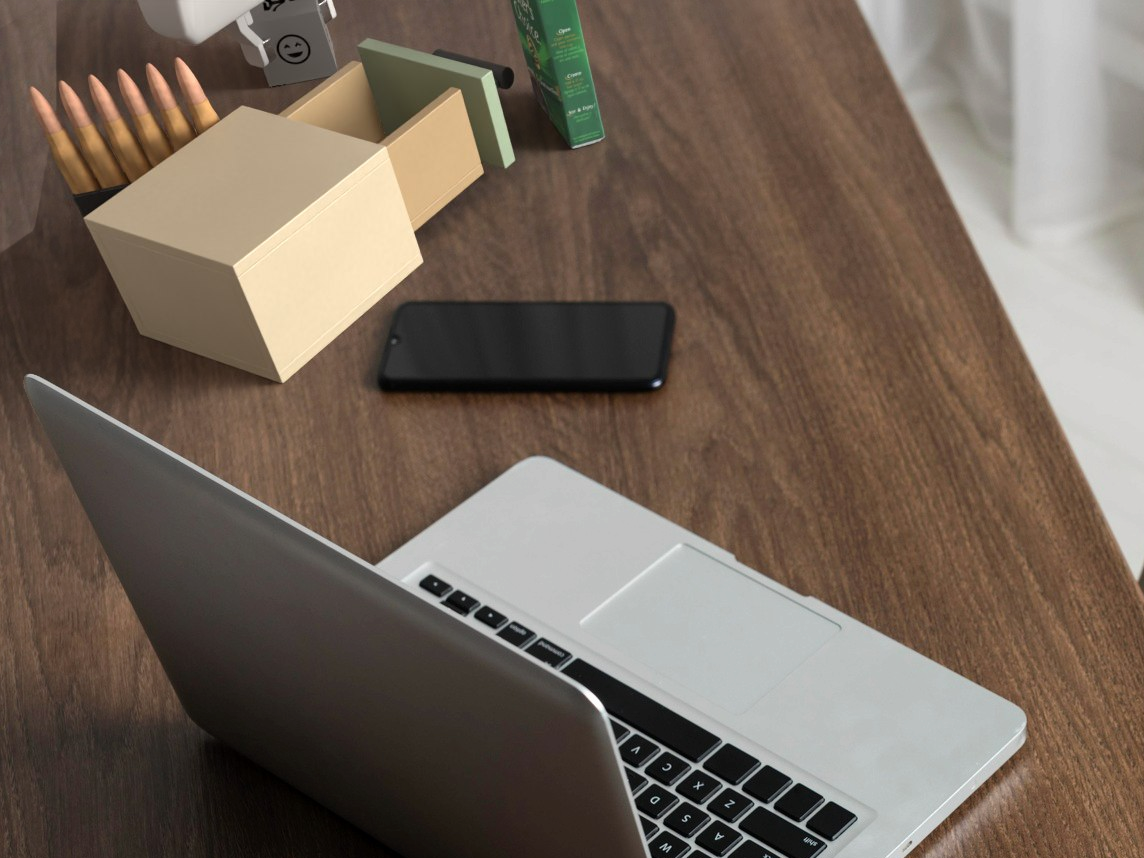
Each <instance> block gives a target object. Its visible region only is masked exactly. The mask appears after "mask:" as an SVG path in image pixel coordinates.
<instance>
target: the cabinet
mask: <svg viewBox="0 0 1144 858" xmlns="http://www.w3.org/2000/svg"><path fill="white" fill-rule="evenodd" d="M220 120H221V121H219V122H218V123H216V124H215V125H214V126H212V127H211V128H209V129H208V130H207V131H205V132H204V133H202V134H201V135H199V136H198V135H197V136H198V137H197V138H195V139H194V140H192V141H191V142H190V143H188V144H187V145H185V146H184V147H183V148H181V149H180V150H178V151H177V152H176V151H175V153H174V154H173V155H171V156H170V157H169V158H167V159H166V160H164V161H163V162H161V163H160V164H159V165H157V166H156V167H154V168H153V169H152V170H150V171H149V172H147V173H146V174H145V175H143V176H142V177H140V178H139V179H138V180H136V181H135V182H133V183H132V184H130V185H129V186H128V187H126V188H125V189H123V190H122V191H121V192H119V193H118V194H116V195H115V196H114V197H112V198H111V199H109V200H108V201H107V202H105V203H104V204H102V205H101V206H100V207H98V208H97V209H95V210H94V211H92V212H91V213H90V214H88V215H87V216H85V217H84V218H83V217H82V220H83V221H84V223H85V226H86V227H88V228H87V229H90V230H88V232H89V231H90V232H89V234H90V233H91V234H90V236H91V235H92V236H91V237H93V238H92V240H93V239H94V240H93V242H94V241H95V242H94V244H95V243H96V244H95V246H96V245H97V246H96V248H97V247H98V248H97V250H98V249H99V250H98V252H99V251H100V252H99V254H100V253H101V254H100V256H101V255H102V256H101V258H102V257H103V258H102V260H103V259H104V260H103V262H104V261H105V263H106V264H105V263H104V264H105V265H106V267H107V269H108V272H109V273H110V275H111V277H112V279H113V281H114V283H115V286H116V287H117V290H118V292H119V294H120V296H121V299H122V300H123V302H124V304H125V306H126V308H127V310H128V312H129V314H130V316H131V318H132V320H133V322H134V324H135V327H136V329H137V331H138V333H139V335H141V336H143V337H145V338H146V337H147V338H150V339H152V340H155V341H158V342H161V343H163V344H166V345H170V346H173V347H176V348H179V349H180V350H184V351H187V352H190V353H193V354H196V355H199V356H201V357H204V358H207V359H210V360H213V361H216V362H218V363H222V364H223V365H228V366H231V367H234V368H236V369H239V370H242V371H245V372H248V373H250V374H253V375H256V376H259V377H262V378H265V379H268V380H271V381H274V382H277V383H280V384H284V383H285V382H287V381H288V380H289V379H290V378H292V377H293V376H294V374H296V373H297V372H298V371H299V370H301V369H302V368H303V367H304V366H305V365H306V364H308V363H309V362H310V361H311V360H312V359H313V358H315V357H316V356H317V355H318V354H319V353H320V352H321V351H323V350H324V349H325V348H326V347H327V346H328V345H330V344H331V343H332V342H333V341H334V340H335V339H337V338H338V337H339V336H341V334H342V333H343V332H344V331H345V330H347V329H348V328H349V327H351V325H352V324H354V323H355V322H356V321H357V320H359V318H361V317H362V316H363V315H364V314H365V313H366V312H367V311H369V310H370V309H372V307H373V306H375V305H376V304H377V303H379V301H380V300H382V299H383V298H384V297H385V296H386V295H387V294H389V292H391V291H392V290H393V289H394V288H395V287H396V286H398V285H399V284H400V283H402V281H403V280H405V278H407V277H409V275H410V274H412V273H413V272H414V271H415V270H416V269H418V267H420V266H421V265H422V264H423V263H424V259H423V257H422V253H421V250H420V247H419V244H418V241H417V238H416V235H415V232H414V231H413V228H412V225H411V222H410V219H409V216H408V213H407V210H406V207H405V204H404V200H403V197H402V194H401V191H400V188H399V185H398V182H397V179H396V176H395V173H394V170H393V167H392V164H391V161H390V158H389V155H388V152H387V149H386V147H385V146H383V145H379V144H376V143H372V142H369V141H365V140H362V139H358V138H355V137H351V136H348V135H344V134H341V133H337V132H334V131H330V130H327V129H323V128H320V127H316V126H313V125H309V124H306V123H302V122H299V121H295V120H292V119H288V118H285V117H281V116H278V114H274V113H270V112H268V111H263V110H261V109H256V108H253V107H250V106H246V105H243V104H242V105H239V107H237V108H236V109H234V110H233V111H232V112H230V113H229V114H228V115H226V116H225V117H223V118H222V119H220Z"/></svg>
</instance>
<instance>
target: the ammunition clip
mask: <svg viewBox="0 0 1144 858" xmlns="http://www.w3.org/2000/svg"><path fill="white" fill-rule="evenodd" d="M174 69H175V74H176V79H177V82H178V84H179V87H180V90H181V94H182V95H183V98H184V100H185V102H186V105H187V108H188V110H189V113H190V115H191V119H192V121H190V119H189V117H187V115H186V114H185V112H184V110H183V109H182V107H181V105H180V103H179V102H178V100H177V98H176V96H175V94H174V92H173V90H172V88H171V87H170V85H169V84H168V82H167V81H166V79H165V78H164V76H163V75H162V74H161V73H160V71H159V70H158V69H157V68H156V67H155V66H154V65H153V64H152V63H150V62H147V63H146V64H145V72H146V77H147V82H148V85H149V89H150V91H151V95H152V97H153V99H154V102H155V104H156V107H157V108H158V112H159V114H160V116H161V118H162V121H163V124H164V125H163V126H164V128H163V126H162V125H161V124H160V122H159V121H158V120H157V118H156V116H155V114H154V112H153V111H152V108H151V107H150V106H149V105H148V102H147V99H146V98H145V96H144V95H143V93H142V91H141V90H140V88H139V86H137V84H136V83H135V82H134V80H133V79H132V77H131V76H129V74H128V73H127V72H126V71H124V70H123V69H122V68H118V69H117V71H116V75H117V76H116V77H117V82H118V87H119V90H120V94H121V97H122V99H123V102H124V103H125V106H126V108H127V110H128V112H129V115H130V118H131V120H132V122H133V125H134V128H135V131H136V133H135V131H134V130H133V129H132V127H130V126H129V124H128V122H127V120H126V119H125V117H124V115H123V113H121V110H120V108H119V107H118V105H117V103H116V100H114V98H113V96H112V95H111V93H110V92H109V91H108V89H107V88H106V87H105V86H104V84H103V83H102V82H101V81H100V80H99V78H97V77H96V76H94V75H93V74H88V76H87V77H88V86H89V87H88V88H89V91H90V95H91V98H92V101H93V104H94V106H95V108H96V111H97V113H98V115H99V116H100V119H101V122H102V125H103V127H104V129H105V131H106V133H107V138H108V140H109V142H108V140H107V139H106V137H105V136H104V135H103V133H102V132H101V131H100V130H99V127H98V126H97V125H96V123H95V121H94V120H93V118H92V116H91V115H90V113H89V111H88V109H87V108H86V106H85V104H84V103H83V101H82V100H81V98H80V97H79V96H78V95H77V93H76V92H75V91H74V90H73V89H72V87H71V86H70V85H68V83H66V82H65V81H64V80H60V79H59V81H58V89H59V94H60V95H59V96H60V100H61V103H62V105H63V108H64V110H65V113H66V115H67V117H68V119H69V122H70V123H71V125H72V128H73V130H74V133H75V136H76V137H77V139H78V143H79V146H78V144H77V143H76V142H75V140H74V139H73V137H71V134H69V132H68V130H67V128H66V127H65V125H64V124H63V123H62V121H61V119H60V118H59V116H58V113H56V111H55V109H54V107H52V105H51V104H50V102H49V101H48V100H47V99H46V98H45V96H44V95H43V94H42V93H41V92H40V91H39V90H37V89H36V88H35V87H34V86H31V85H30V86H29V87H28V94H29V95H28V96H29V100H30V104H31V107H32V110H33V113H34V115H35V118H36V120H37V122H38V124H39V126H40V128H41V130H42V132H43V135H44V137H45V139H46V141H47V143H48V146H49V149H50V152H51V155H52V157H53V160H54V161H55V163H56V165H57V167H58V169H59V170H60V172H61V174H62V176H63V178H64V180H65V181H66V183H67V185H68V187H69V189H70V191H71V193H72V199H73V201H74V204H75V205H76V207H77V209H78V212H79V213H80V215H81V217H82V219H83V218H84V217H85V216H87V215H88V214H90V213H91V212H92V211H94V210H95V209H97V208H98V207H100V206H101V205H102V204H104V203H105V202H107V201H108V200H109V199H111V198H112V197H114V196H115V195H116V194H118V193H119V192H121V191H122V190H123V189H125V188H126V187H128V186H129V185H130V184H132V183H133V182H135V181H136V180H138V179H139V178H140V177H142V176H143V175H145V174H146V173H147V172H149V171H150V170H152V169H153V168H154V167H156V166H157V165H159V164H160V163H161V162H163V161H164V160H166V159H167V158H169V157H170V156H171V155H173V154H174V153H176V152H177V151H178V150H180V149H181V148H183V147H184V146H185V145H187V144H188V143H190V142H191V141H192V140H194V139H195V138H197V137H198V136H199V135H201V134H202V133H204V132H205V131H207V130H208V129H209V128H211V127H212V126H214V125H215V124H216V123H218V122H219V121H221V120H222V119H220V118H221V117H220V116H219V115H218V114H217V113H216V111H215V110H214V108H213V107H212V105H211V102H210V101H209V99H208V97H207V96H206V94H205V93H204V90H203V88H202V86H201V84H200V82H199V81H198V79H197V77H196V76H195V74H194V73H193V72H192V70H191V69H190V68H189V66H188V65H187V64H186V63H185V62H184V61H183V60H182V59H181V58H180V57H178V56H175V58H174ZM192 123H193V124H192ZM86 227H87V226H86ZM87 229H88V227H87ZM89 230H90V229H88V232H89V234H90V236H91V237H92V235H91V233H90V231H89ZM92 240H93V242H94V244H95V246H96V248H97V250H98V252H99V254H100V256H101V258H102V260H103V263H104V264H105V265H106V263H105V261H104V259H103V257H102V255H101V253H100V251H99V249H98V247H97V245H96V243H95V241H94V239H93V237H92Z"/></svg>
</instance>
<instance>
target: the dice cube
mask: <svg viewBox="0 0 1144 858" xmlns="http://www.w3.org/2000/svg"><path fill="white" fill-rule="evenodd" d="M250 14H251V17H252V19H253V23H252V24H251V25H248V27H249V28H250V29H251V30H252V31H253V32H254V33H255V34H256V35H257V36H258V37H259V38H260V39H261V40H262V39H268V38H270V40H271V43H272V45H273V48H274V51H275V54H276V58H275V59H274V60H273V61H272V62H271V63H269V64H267V65H266V66H265V67H263V68H262V70H263V73H264V76H265V77H266V81H267V83H268V87H270V86H274V85H281V86H284V85H283V84H286V85H291V84H296V83H301V82H307V81H312V80H318V79H322V78H329V77H331V76H332V75H333V74H335V73H336V72H337V71H339V68H338V63H337V59H336V53H335V48H334V43H333V40H332V38H331V37H332V36H331V34H330V31H329V29H328V25H327V23H326V24H325V22H324V19H323V16H322V13H321V10H320V7H319V4H318V0H265V1H263V2H262V3H260V4H259V5H257V6H256V7H254V8H253V9H251V10H250ZM286 85H285V86H286Z"/></svg>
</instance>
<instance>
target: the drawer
mask: <svg viewBox="0 0 1144 858" xmlns="http://www.w3.org/2000/svg"><path fill="white" fill-rule="evenodd" d="M356 49H357V52H358V54H359V57H360V61H361V62H360V61H357V60H351V61H350V62H348V63H347V64H346V65H344V66H343V67H341V68H340V69H338V71H337V72H336V73H335V74H333V75H332V76H328V77H327V78H326V79H325V80H324V81H322V82H321V83H320V84H318V85H317V86H315V87H314V88H313V89H312V90H310V91H309V92H307V93H306V94H305V95H303V96H302V97H300V98H299V99H298V100H296V101H295V102H293V103H292V104H291V105H289V106H288V107H286V108H285V109H284V110H282V111H281V112H280V113H278V114H277V115H278V116H281V117H285V118H288V119H292V120H295V121H299V122H302V123H306V124H309V125H313V126H316V127H320V128H323V129H327V130H330V131H334V132H337V133H341V134H344V135H348V136H351V137H355V138H358V139H362V140H365V141H369V142H372V143H376V144H379V145H383V146H385V147H386V149H387V152H388V155H389V158H390V161H391V164H392V167H393V170H394V173H395V176H396V179H397V182H398V185H399V188H400V191H401V194H402V197H403V200H404V204H405V207H406V210H407V213H408V216H409V219H410V222H411V225H412V228H413V231H414V233H415V232H416V231H417V230H418V229H419V228H421V227H422V226H423V225H424V224H426V223H427V222H428V221H429V220H430V219H431V218H433V217H434V216H435V215H436V214H438V212H440V211H441V210H442V209H443V208H444V207H445V206H447V205H448V204H449V203H450V202H451V201H453V200H454V199H455V198H456V197H457V196H458V195H460V194H461V193H462V192H463V191H464V190H465V189H467V188H468V187H469V186H470V185H472V184H473V183H474V182H475V181H476V180H477V179H479V178H480V177H481V176H482V175H484V173H485V172H484V168H483V165H482V163H483V164H487V165H490V166H493V167H496V168H500V169H504V170H506V169H507V168H509V166H511V165H512V164H513V163H514V162H515V161H516V157H515V154H514V149H513V146H512V142H511V138H510V134H509V130H508V126H507V123H506V119H505V116H504V112H503V108H502V103H501V100H500V97H499V96H500V95H499V93H498V88H499V89H502V90H510V89H511V88H512V87H513V85H514V81H515V73H514V70H513V69H512V68H511V67H510V66H506V65H503V64H498V63H494V62H491V61H487V60H483V59H480V58H476V57H472V56H468V55H464V54H460V53H456V52H453V51H449V50H444V49H441V48H437V49H435V50H434V51H433V52H432V54H430V53H428V52H423V51H419V50H415V49H412V48H408V47H405V46H401V45H396V44H392V43H389V42H385V41H381V40H378V39H374V38H370V37H367V38H366V39H365V40H363V41H361V42H360V43H358V44H357V45H356Z"/></svg>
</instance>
